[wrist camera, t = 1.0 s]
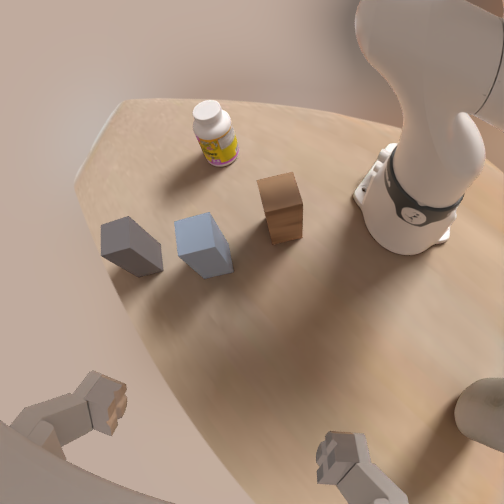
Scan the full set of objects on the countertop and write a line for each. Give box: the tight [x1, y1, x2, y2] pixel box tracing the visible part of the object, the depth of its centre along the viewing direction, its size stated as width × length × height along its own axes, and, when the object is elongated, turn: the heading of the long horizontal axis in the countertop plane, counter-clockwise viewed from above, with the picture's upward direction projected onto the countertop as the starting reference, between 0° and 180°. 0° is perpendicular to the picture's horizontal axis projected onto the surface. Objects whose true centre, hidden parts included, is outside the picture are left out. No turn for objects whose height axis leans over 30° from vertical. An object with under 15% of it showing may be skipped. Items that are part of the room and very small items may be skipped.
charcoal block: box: [101, 216, 163, 277], centre depth 48 cm, size 5×5×12 cm
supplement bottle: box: [193, 100, 239, 167], centre depth 52 cm, size 7×7×13 cm
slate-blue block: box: [174, 212, 234, 279], centre depth 46 cm, size 5×5×12 cm
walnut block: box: [257, 172, 303, 245], centre depth 46 cm, size 5×5×12 cm
